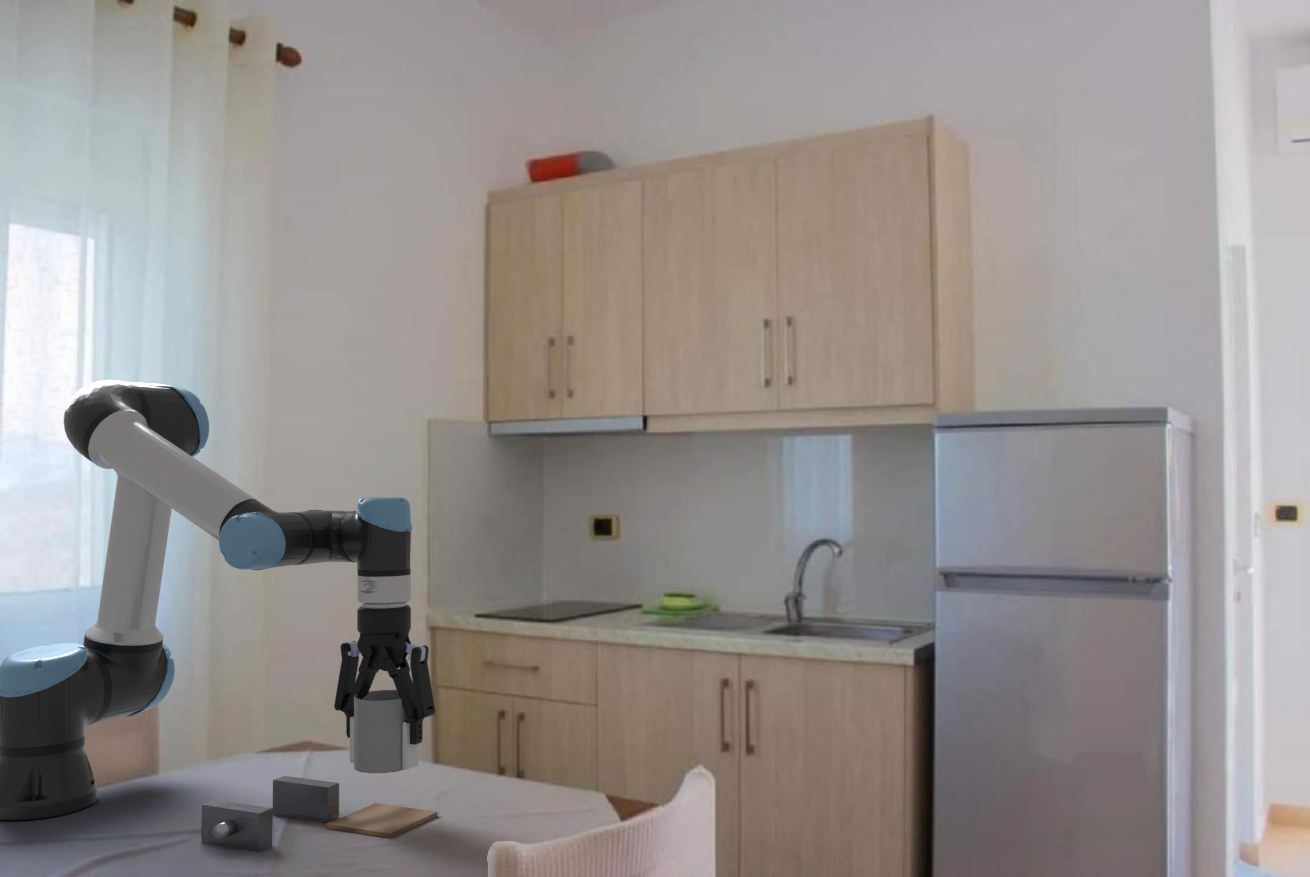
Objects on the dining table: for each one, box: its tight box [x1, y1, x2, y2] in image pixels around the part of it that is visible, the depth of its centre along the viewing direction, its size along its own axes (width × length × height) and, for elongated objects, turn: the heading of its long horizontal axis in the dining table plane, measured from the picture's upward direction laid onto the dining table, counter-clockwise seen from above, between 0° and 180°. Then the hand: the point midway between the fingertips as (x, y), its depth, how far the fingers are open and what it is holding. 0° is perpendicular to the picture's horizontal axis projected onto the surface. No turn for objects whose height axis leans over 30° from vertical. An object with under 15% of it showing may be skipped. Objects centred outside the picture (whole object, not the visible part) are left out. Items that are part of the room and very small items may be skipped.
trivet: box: [325, 802, 439, 839], centre depth 161 cm, size 11×11×1 cm
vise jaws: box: [200, 775, 340, 853], centre depth 157 cm, size 10×20×5 cm, turn 156°
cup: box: [353, 689, 407, 774], centre depth 161 cm, size 8×8×10 cm
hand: (383, 763), depth 161 cm, fingers closed on cup, 8 cm apart
